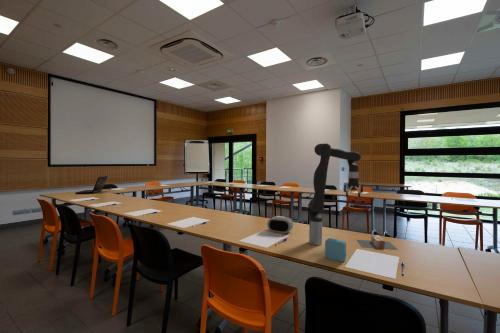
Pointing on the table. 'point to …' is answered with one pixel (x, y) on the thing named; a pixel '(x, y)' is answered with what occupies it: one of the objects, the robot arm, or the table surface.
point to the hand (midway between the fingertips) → (352, 197)
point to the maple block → (377, 241)
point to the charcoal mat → (370, 245)
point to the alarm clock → (280, 224)
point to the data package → (335, 249)
